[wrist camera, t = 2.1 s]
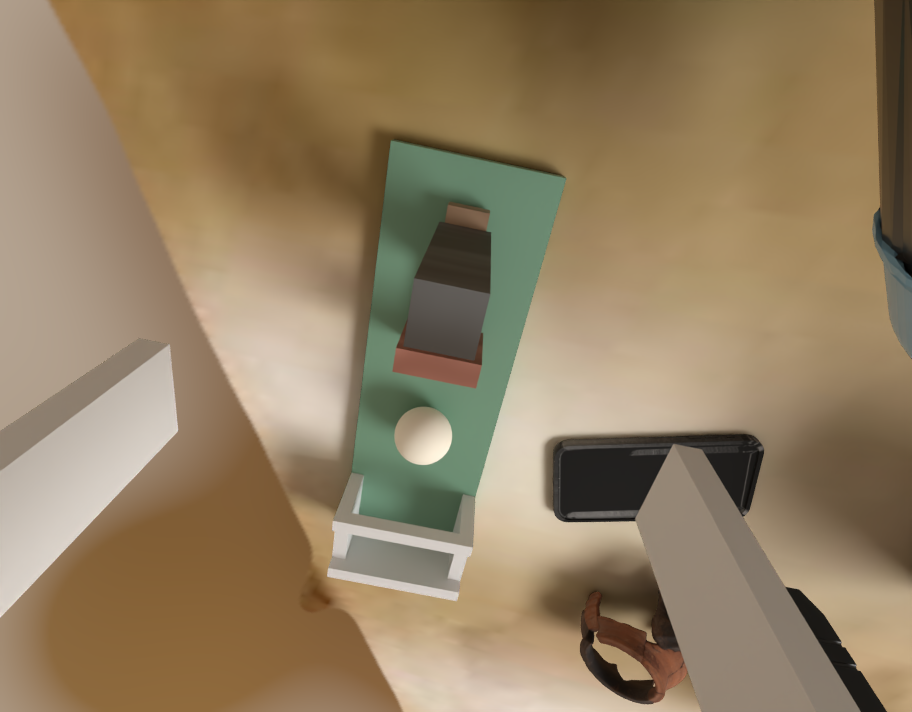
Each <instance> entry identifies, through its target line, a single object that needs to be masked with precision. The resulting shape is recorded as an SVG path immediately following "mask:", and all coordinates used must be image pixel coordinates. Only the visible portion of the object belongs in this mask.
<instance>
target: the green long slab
mask: <svg viewBox="0 0 912 712" xmlns="http://www.w3.org/2000/svg"><path fill="white" fill-rule="evenodd" d="M565 182H566V178H565V177H564V176H562V175H557V174H552V173H548V172H543V171H538V170H534V169H529V168H525V167H520V166H515V165H511V164H506V163H501V162H497V161H492V160H488V159H483V158H478V157H474V156H469V155H464V154H460V153H455V152H451V151H446V150H441V149H437V148H432V147H427V146H423V145H418V144H414V143H409V142H404V141H400V140H395V139H394V140H391V144H390V152H389V161H388V169H387V178H386V186H385V194H384V203H383V211H382V220H381V228H380V237H379V245H378V253H377V262H376V270H375V279H374V287H373V296H372V304H371V312H370V321H369V329H368V338H367V346H366V355H365V363H364V371H363V380H362V388H361V397H360V405H359V413H358V422H357V430H356V439H355V447H354V456H353V464H352V472H351V475H350V478H349V480H348V483H347V486H346V488H345V491H344V493H343V496H342V499H341V501H340V504H339V507H338V509H337V512H336V514H335V517H334V520H333V526H332V531H335V535H334V544H333V554H332V559H331V562H330V564H329V567H328V575H327V577H332V578H337V579H342V580H348V581H353V582H358V583H364V584H369V585H374V586H380V587H385V588H390V589H396V590H401V591H406V592H411V593H417V594H422V595H427V596H433V597H438V598H443V599H449V600H454V601H457V598H458V595H459V589H460V580H461V576H462V573H463V570H464V566H465V563H466V560H467V557H470V556H471V552H472V549H473V535H474V513H475V496H476V492H477V489H478V485H479V482H480V478H481V475H482V471H483V468H484V464H485V461H486V457H487V454H488V450H489V447H490V443H491V440H492V436H493V433H494V429H495V426H496V422H497V419H498V415H499V412H500V408H501V405H502V401H503V398H504V395H505V391H506V388H507V384H508V381H509V377H510V374H511V370H512V367H513V363H514V360H515V356H516V353H517V349H518V346H519V342H520V339H521V335H522V332H523V328H524V325H525V321H526V318H527V314H528V311H529V307H530V304H531V300H532V297H533V293H534V290H535V286H536V283H537V279H538V276H539V272H540V269H541V265H542V262H543V258H544V255H545V251H546V248H547V244H548V241H549V237H550V234H551V230H552V227H553V223H554V220H555V216H556V213H557V209H558V206H559V202H560V199H561V196H562V192H563V189H564V185H565ZM449 202H454V203H459V204H463V205H468V206H473V207H478V208H482V209H487V210H490V216H489V221H488V225H487V230H486V231H487V232H491V289H490V298H489V302H488V306H487V310H486V314H485V319H484V323H483V327H482V331H481V333H483V352H482V367H481V371H480V375H479V379H478V383H477V387H476V389H475V388H470V387H465V386H460V385H455V384H450V383H445V382H440V381H436V380H431V379H426V378H421V377H416V376H411V375H406V374H401V373H396V372H392V370H393V364H394V357H395V351H396V346H397V344H398V341H399V339H400V336H401V334H402V331H403V329H404V326H405V324H406V321H407V319H408V313H409V307H410V301H411V294H412V288H413V282H414V277H415V275H416V273H417V271H418V268H419V266H420V264H421V262H422V259H423V257H424V255H425V253H426V251H427V248H428V246H429V244H430V242H431V239H432V237H433V235H434V233H435V230H436V228H437V226H438V224H439V222H444V223H445V218H446V213H447V207H448V203H449ZM416 407H430V408H434V409H436V410H438V411H440V412H441V413H442V414H443V415H444V416H445V417H446V418H447V420H448V421H449V423H450V426H451V430H452V442H451V445H450V448H449V450H448V451H447V453H446V454H445V455H444V456H443V457H442V458H441V459H440V460H438V461H437V462H435V463H432V464H428V465H418V464H414V463H411V462H409V461H408V460H406V459H405V458H404V457H403V456H402V455H401V454H400V453H399V451H398V449H397V447H396V444H395V438H394V434H395V428H396V425H397V423H398V421H399V420H400V418H401V417H402V416H403V415H404V414H405V413H406V412H408V411H409V410H411V409H413V408H416Z"/></svg>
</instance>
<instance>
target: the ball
mask: <svg viewBox="0 0 912 712" xmlns="http://www.w3.org/2000/svg"><path fill="white" fill-rule="evenodd" d="M394 438H395V444H396V447H397V449H398V451H399V453H400V454H401V455H402V456H403V457H404V458H405V459H406V460H408V461H409V462H411V463H414V464H418V465H428V464H432V463H435V462H437V461H438V460H440V459H441V458H442V457H443V456H444V455H445V454H446V453H447V451H448V450H449V448H450V445H451V442H452V430H451V426H450V423H449V421H448V420H447V418H446V417H445V416H444V415H443V414H442V413H441V412H440V411H438V410H436V409H434V408H430V407H416V408H413V409H411V410H409V411H408V412H406V413H405V414H404V415H403V416H402V417H401V418H400V420H399V421H398V423H397V425H396V428H395V434H394Z"/></svg>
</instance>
